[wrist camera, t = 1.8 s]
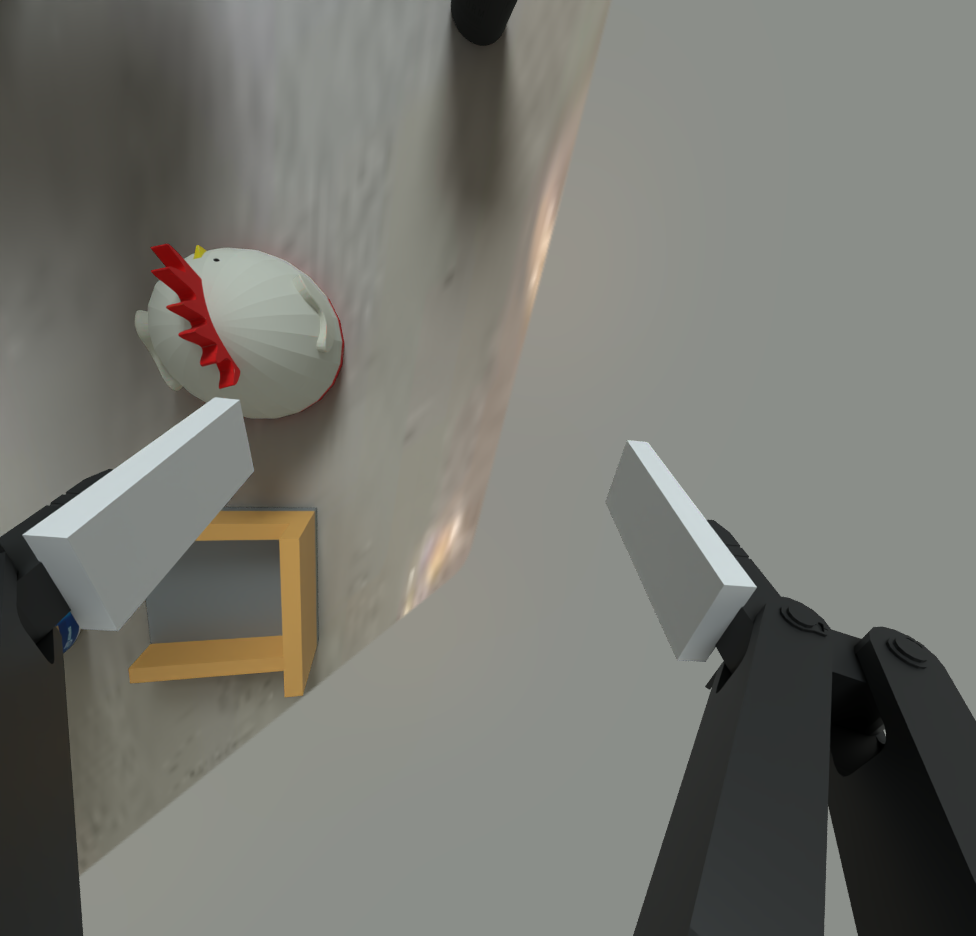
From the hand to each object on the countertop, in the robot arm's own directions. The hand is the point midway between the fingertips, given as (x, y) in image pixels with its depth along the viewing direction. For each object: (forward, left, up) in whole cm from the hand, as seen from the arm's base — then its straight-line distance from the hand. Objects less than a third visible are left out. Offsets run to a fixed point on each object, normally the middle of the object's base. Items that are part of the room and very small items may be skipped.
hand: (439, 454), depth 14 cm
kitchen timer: (-14, 0, -28) cm, 31 cm away
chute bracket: (-9, -23, -28) cm, 37 cm away
